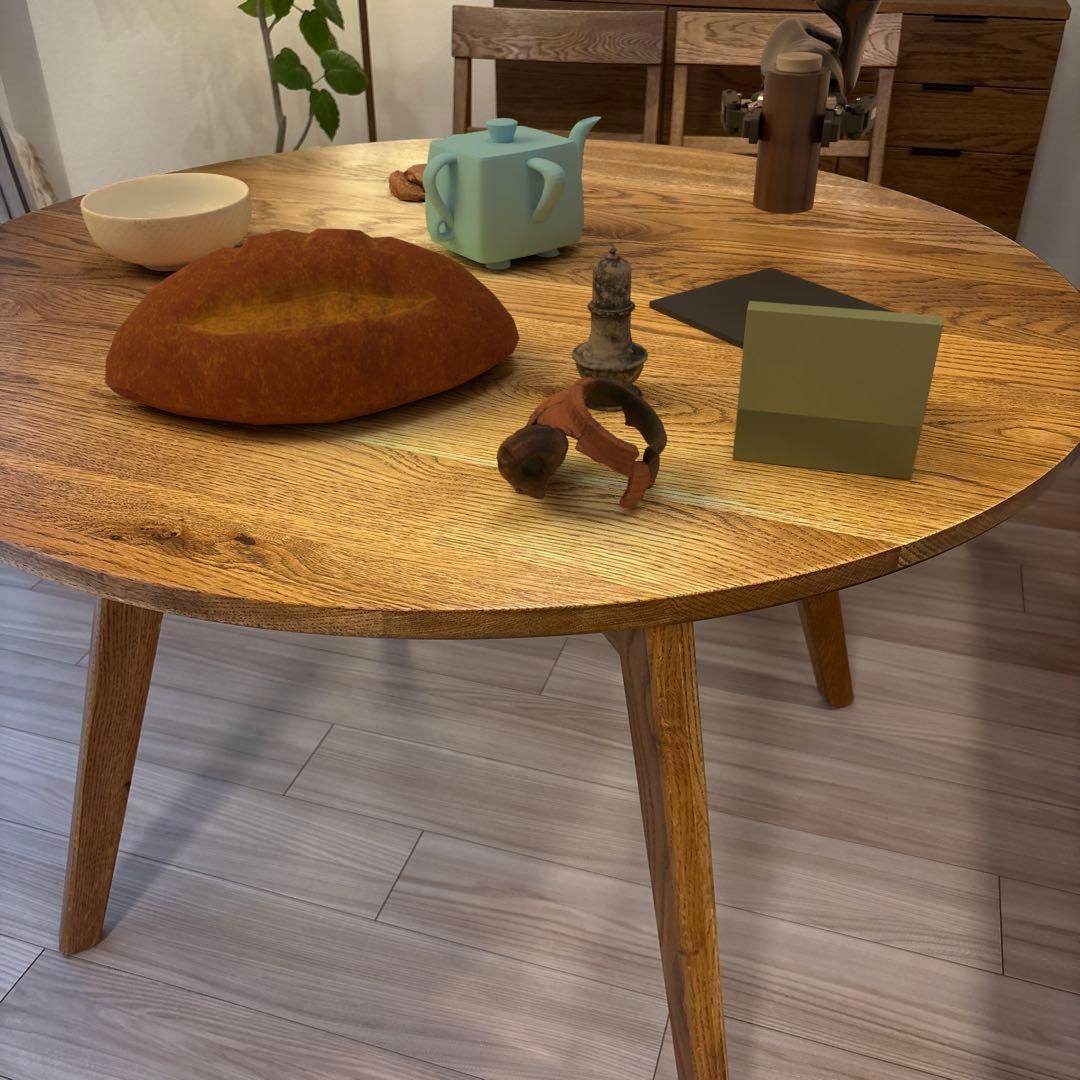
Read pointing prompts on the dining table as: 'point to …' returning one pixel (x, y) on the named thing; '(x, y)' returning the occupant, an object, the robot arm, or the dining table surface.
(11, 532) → the dining table surface
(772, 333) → the olive piece
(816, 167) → the pepper mill
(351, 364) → the bread
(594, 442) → the brown leather headphones
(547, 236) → the teapot
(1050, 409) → the dining table surface
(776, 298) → the slate mat
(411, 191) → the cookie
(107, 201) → the cereal bowl
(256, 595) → the dining table surface
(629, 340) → the salt shaker
